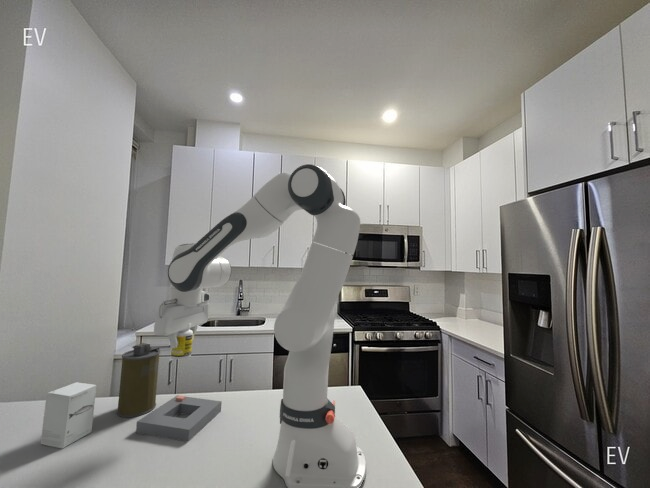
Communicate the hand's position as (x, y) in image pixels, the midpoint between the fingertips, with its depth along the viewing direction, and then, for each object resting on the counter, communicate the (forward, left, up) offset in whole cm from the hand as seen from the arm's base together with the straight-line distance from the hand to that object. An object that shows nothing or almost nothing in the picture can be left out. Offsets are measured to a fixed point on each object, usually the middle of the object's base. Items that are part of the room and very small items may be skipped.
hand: (182, 344), depth 84 cm
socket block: (-1, -1, -23) cm, 23 cm away
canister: (+17, -4, -23) cm, 29 cm away
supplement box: (+22, +13, -23) cm, 34 cm away
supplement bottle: (0, 0, -4) cm, 4 cm away
